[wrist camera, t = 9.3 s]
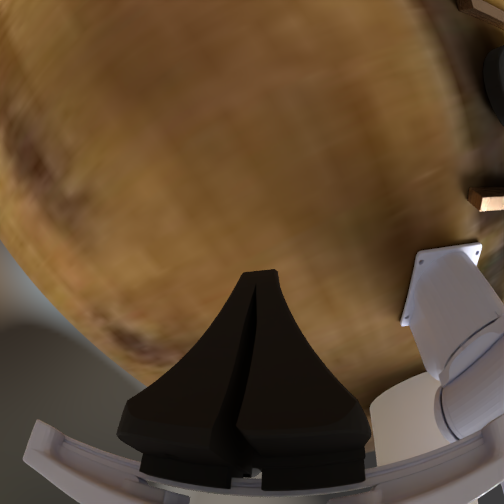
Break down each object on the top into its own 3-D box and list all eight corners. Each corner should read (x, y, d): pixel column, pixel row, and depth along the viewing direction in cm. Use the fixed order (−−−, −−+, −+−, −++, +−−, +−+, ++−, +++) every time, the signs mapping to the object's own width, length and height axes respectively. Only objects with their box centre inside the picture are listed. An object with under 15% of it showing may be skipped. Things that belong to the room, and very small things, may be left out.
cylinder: (433, 404, 40) (452, 516, 17) (359, 420, 42) (367, 546, 19) (472, 358, 30) (510, 500, 7) (386, 379, 32) (407, 555, 9)
